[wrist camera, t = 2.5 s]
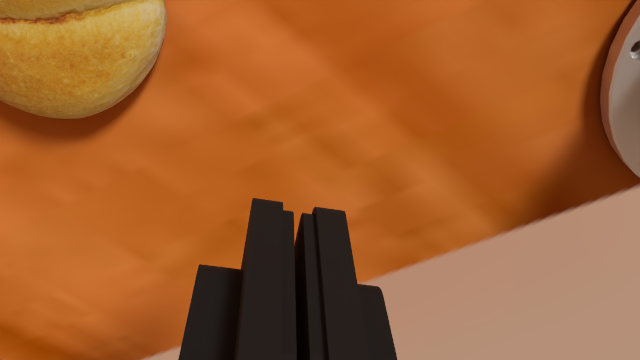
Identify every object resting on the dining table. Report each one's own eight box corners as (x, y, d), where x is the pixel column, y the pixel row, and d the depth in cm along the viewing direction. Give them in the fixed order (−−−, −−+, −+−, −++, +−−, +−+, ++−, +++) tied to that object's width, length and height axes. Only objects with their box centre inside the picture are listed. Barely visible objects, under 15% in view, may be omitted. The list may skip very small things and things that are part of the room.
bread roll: (-13, 100, 26) (-62, 139, 22) (-67, -132, 21) (-139, -130, 18) (178, 106, 26) (160, 145, 23) (163, -119, 22) (137, -114, 18)
